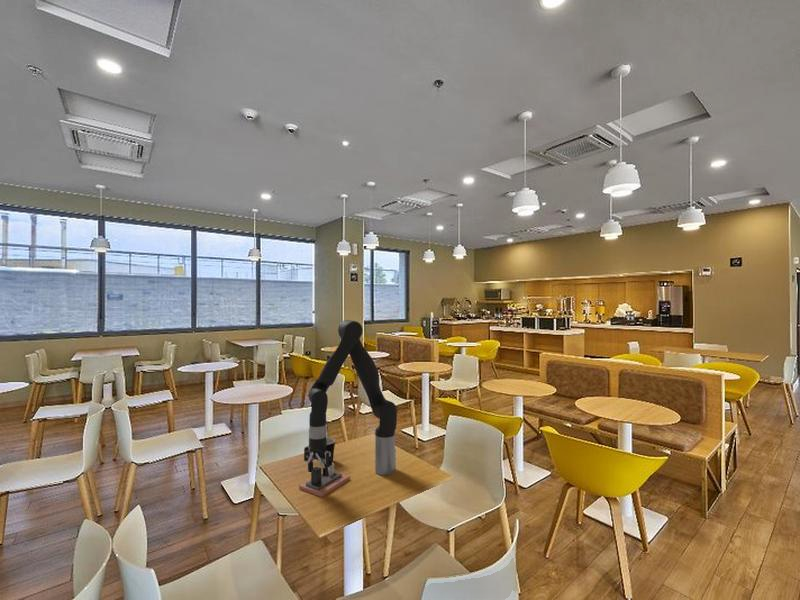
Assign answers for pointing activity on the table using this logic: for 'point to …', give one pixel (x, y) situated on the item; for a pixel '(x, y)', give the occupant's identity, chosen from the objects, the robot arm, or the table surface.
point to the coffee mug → (330, 447)
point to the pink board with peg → (328, 487)
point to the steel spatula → (321, 479)
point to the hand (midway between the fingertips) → (317, 473)
